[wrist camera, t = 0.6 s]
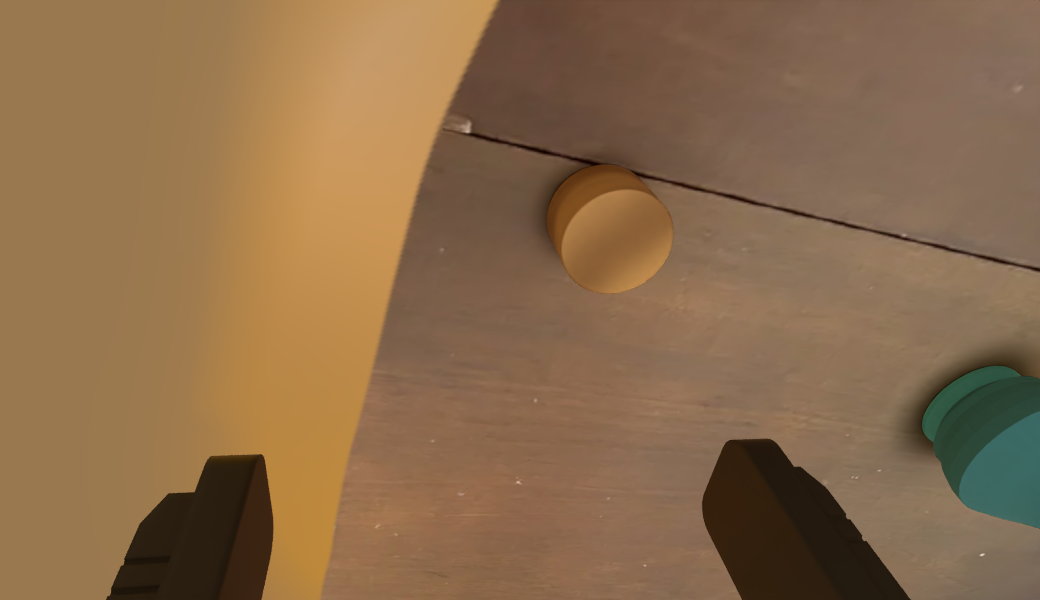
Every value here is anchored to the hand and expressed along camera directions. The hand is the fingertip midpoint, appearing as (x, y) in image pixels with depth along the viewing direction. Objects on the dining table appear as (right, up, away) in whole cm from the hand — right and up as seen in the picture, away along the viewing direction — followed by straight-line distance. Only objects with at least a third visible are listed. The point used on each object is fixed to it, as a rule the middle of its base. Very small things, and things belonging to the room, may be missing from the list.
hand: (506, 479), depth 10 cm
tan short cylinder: (+4, +7, +17) cm, 18 cm away
